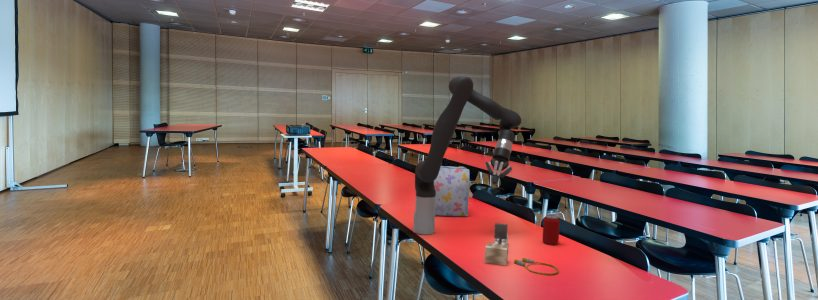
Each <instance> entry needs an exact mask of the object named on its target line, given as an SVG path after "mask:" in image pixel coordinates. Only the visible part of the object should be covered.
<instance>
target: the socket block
mask: <svg viewBox="0 0 818 300" xmlns="http://www.w3.org/2000/svg"><path fill="white" fill-rule="evenodd" d="M484 249H485V250H484V264H485V263H486V264H492V265H498V266H499V265H500V266H507V264H508V260H509V257H508V256H509V245H502V244H494V242H493V243H492V242H487V243H486V244H485V247H484Z"/></svg>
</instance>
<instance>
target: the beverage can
mask: <svg viewBox="0 0 818 300" xmlns="http://www.w3.org/2000/svg"><path fill="white" fill-rule="evenodd" d="M542 223H543V226H542V242H543V243H544V244H546V245H550V246H556V245H557V244H559V240H560V239H559V238H560V237H559V236H560V226H561V225H560V223H561V222H560V219H559V216H557V215H553V214H551V215H550V214H546V215H545V216H544V218H543V222H542Z"/></svg>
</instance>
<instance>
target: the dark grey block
mask: <svg viewBox="0 0 818 300" xmlns="http://www.w3.org/2000/svg"><path fill="white" fill-rule="evenodd" d="M508 227H509V226H508V224H507V223H500V222H499V223H498V222H495V223H494V235H493V239H495V238H496V239H499V242H498V244H502V241H503V239H504V240H507V234H508V229H509V228H508Z"/></svg>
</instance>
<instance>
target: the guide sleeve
mask: <svg viewBox="0 0 818 300" xmlns="http://www.w3.org/2000/svg"><path fill="white" fill-rule="evenodd" d="M498 242H499V239H496V238H494V241H493V243H494V244H498ZM508 244H509V234H508V233H507V240H504V239H502V245H508ZM508 246H509V245H508Z"/></svg>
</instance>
